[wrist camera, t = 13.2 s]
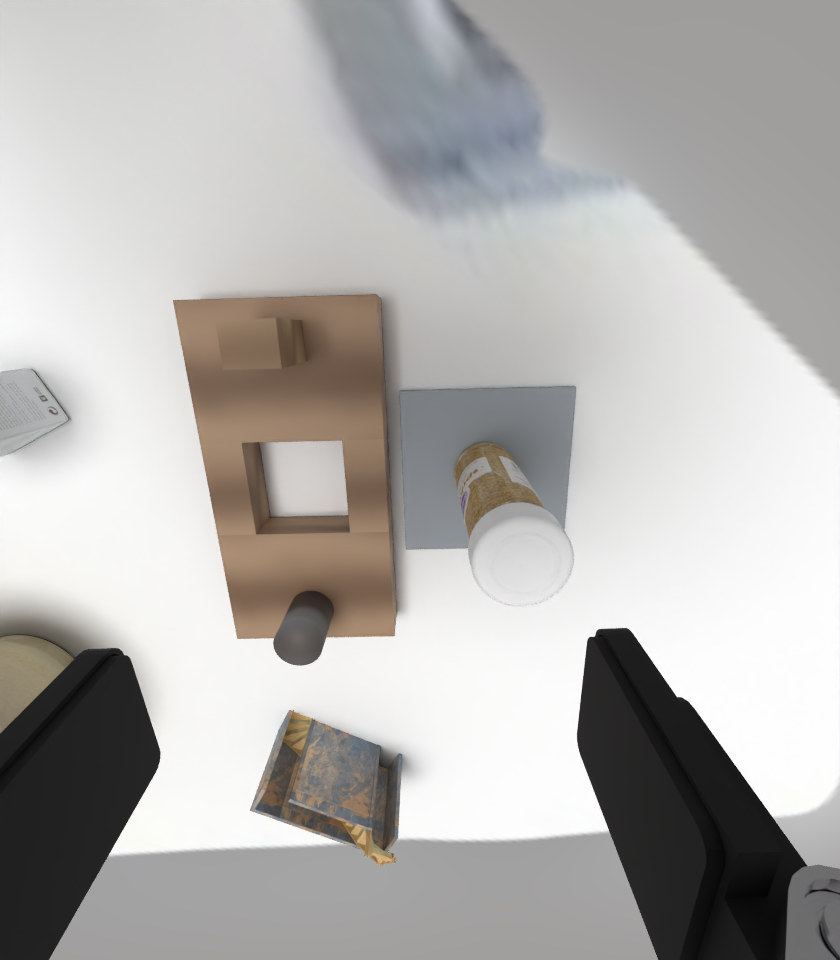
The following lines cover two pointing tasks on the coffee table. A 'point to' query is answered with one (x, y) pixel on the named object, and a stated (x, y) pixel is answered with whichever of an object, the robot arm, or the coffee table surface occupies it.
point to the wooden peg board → (285, 418)
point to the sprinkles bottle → (509, 529)
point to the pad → (471, 420)
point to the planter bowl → (26, 672)
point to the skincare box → (25, 409)
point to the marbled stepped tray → (331, 787)
